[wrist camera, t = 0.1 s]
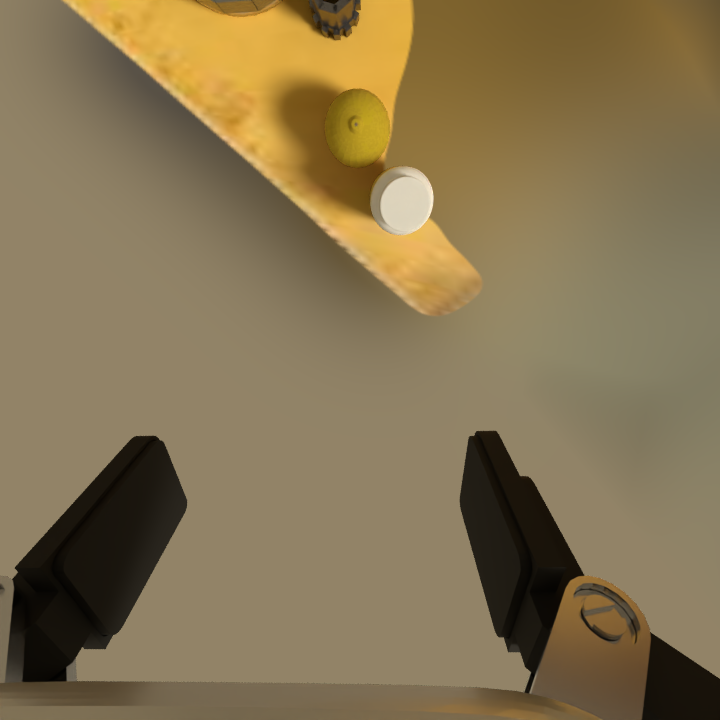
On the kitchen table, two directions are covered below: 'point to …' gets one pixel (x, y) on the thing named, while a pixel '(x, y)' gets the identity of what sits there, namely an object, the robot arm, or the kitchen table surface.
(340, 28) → the gear
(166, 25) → the kitchen table surface
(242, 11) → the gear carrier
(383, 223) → the supplement bottle
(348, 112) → the lemon
